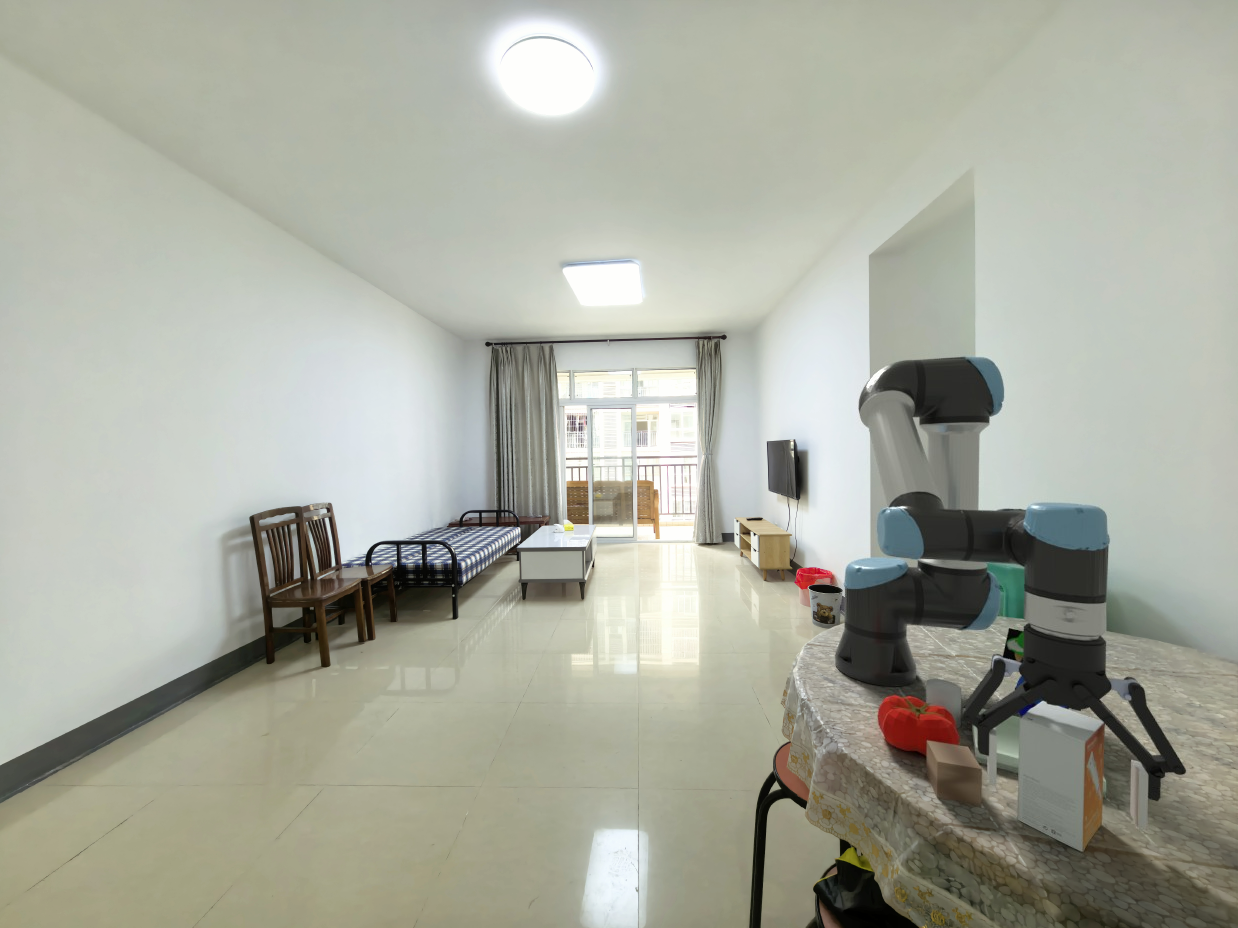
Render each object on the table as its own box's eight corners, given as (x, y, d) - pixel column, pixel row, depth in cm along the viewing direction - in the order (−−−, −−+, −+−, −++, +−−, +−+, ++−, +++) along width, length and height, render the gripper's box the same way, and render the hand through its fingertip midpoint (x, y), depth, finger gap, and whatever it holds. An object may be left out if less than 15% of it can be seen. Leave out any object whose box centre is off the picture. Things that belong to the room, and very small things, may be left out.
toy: (1056, 705, 88) (1057, 623, 88) (1085, 733, 80) (1087, 642, 79) (997, 697, 91) (998, 618, 91) (1019, 723, 83) (1020, 635, 82)
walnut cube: (937, 798, 65) (937, 761, 65) (926, 774, 70) (926, 740, 70) (981, 806, 64) (981, 768, 63) (967, 781, 68) (967, 746, 68)
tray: (975, 761, 73) (975, 746, 72) (970, 718, 84) (970, 705, 84) (1106, 797, 65) (1106, 781, 65) (1080, 744, 77) (1080, 731, 76)
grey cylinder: (925, 722, 83) (925, 687, 83) (926, 709, 87) (926, 676, 87) (961, 731, 80) (961, 695, 80) (960, 717, 85) (960, 683, 84)
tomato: (961, 775, 70) (961, 730, 69) (874, 751, 75) (875, 709, 75) (957, 741, 78) (957, 700, 78) (879, 721, 84) (879, 683, 83)
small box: (1084, 854, 56) (1086, 742, 55) (1015, 819, 61) (1017, 717, 61) (1104, 824, 60) (1106, 720, 60) (1039, 794, 66) (1040, 698, 65)
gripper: (941, 619, 64) (940, 779, 64) (1233, 663, 50) (1228, 867, 50) (941, 604, 70) (940, 750, 70) (1200, 640, 56) (1196, 821, 57)
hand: (1060, 799), depth 60 cm, fingers open, 13 cm apart
